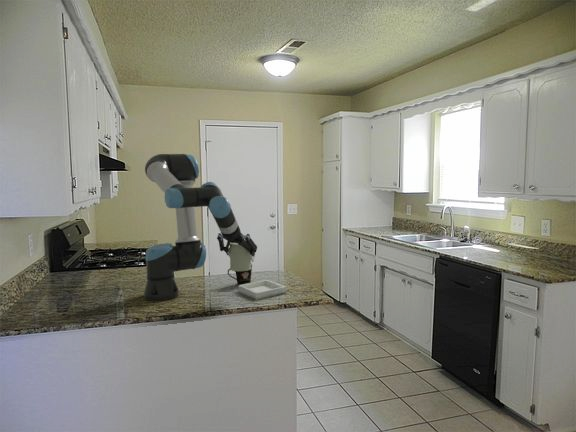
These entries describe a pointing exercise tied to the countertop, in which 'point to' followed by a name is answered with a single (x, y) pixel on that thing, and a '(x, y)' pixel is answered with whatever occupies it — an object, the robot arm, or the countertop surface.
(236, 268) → the can
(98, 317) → the countertop surface
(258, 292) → the bin
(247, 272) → the coffee mug
